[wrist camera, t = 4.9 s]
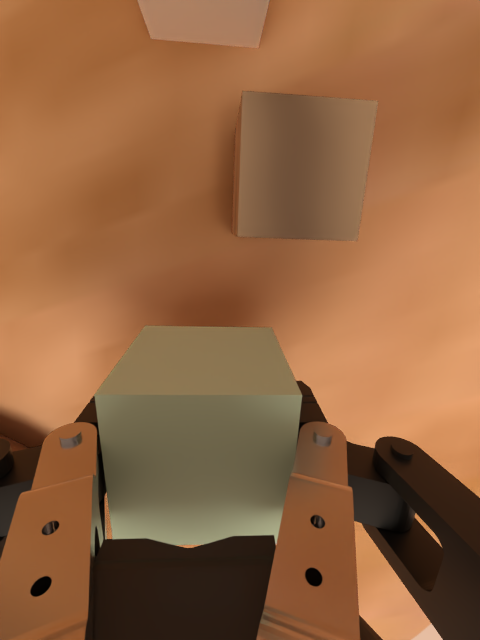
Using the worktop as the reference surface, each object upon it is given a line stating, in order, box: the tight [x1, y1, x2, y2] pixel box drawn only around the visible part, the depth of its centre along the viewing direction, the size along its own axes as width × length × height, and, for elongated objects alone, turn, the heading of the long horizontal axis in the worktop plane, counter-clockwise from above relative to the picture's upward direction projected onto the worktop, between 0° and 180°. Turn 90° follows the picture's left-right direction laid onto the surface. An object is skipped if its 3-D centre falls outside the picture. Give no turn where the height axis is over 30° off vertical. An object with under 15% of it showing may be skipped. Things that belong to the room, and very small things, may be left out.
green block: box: [94, 326, 302, 545], centre depth 11 cm, size 5×5×5 cm
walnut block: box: [232, 91, 378, 241], centre depth 14 cm, size 5×5×5 cm
